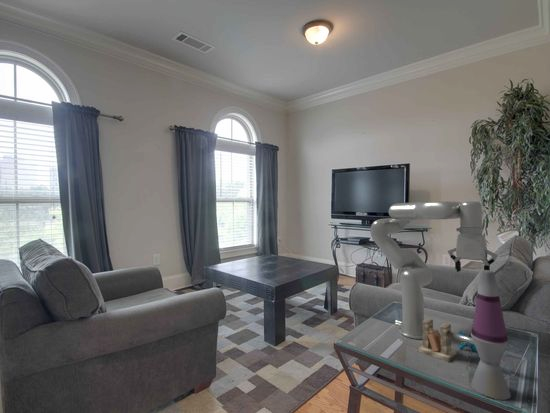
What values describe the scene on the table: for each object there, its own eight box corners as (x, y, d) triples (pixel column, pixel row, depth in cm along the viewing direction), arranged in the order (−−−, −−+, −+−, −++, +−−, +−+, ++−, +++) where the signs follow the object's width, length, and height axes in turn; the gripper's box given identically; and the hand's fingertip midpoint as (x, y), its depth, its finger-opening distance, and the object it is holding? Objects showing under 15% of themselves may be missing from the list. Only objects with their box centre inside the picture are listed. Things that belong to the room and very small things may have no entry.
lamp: (516, 392, 96) (513, 271, 96) (502, 404, 90) (499, 276, 90) (479, 376, 105) (477, 266, 105) (465, 386, 99) (462, 270, 100)
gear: (482, 354, 117) (461, 332, 122) (470, 362, 119) (449, 340, 124) (480, 347, 126) (460, 327, 131) (469, 354, 128) (450, 334, 133)
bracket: (417, 351, 124) (416, 322, 124) (426, 343, 131) (426, 315, 131) (448, 362, 115) (447, 330, 115) (457, 353, 122) (456, 323, 122)
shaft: (445, 338, 119) (445, 315, 119) (448, 335, 121) (447, 313, 121) (502, 354, 105) (501, 328, 105) (504, 351, 107) (503, 326, 107)
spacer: (433, 350, 121) (427, 334, 123) (438, 345, 125) (433, 330, 127) (438, 350, 120) (432, 334, 121) (443, 345, 124) (437, 330, 126)
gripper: (444, 231, 123) (445, 271, 123) (494, 233, 110) (495, 278, 110) (450, 229, 128) (451, 268, 128) (499, 231, 115) (500, 275, 115)
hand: (472, 273), depth 119 cm, fingers open, 9 cm apart
